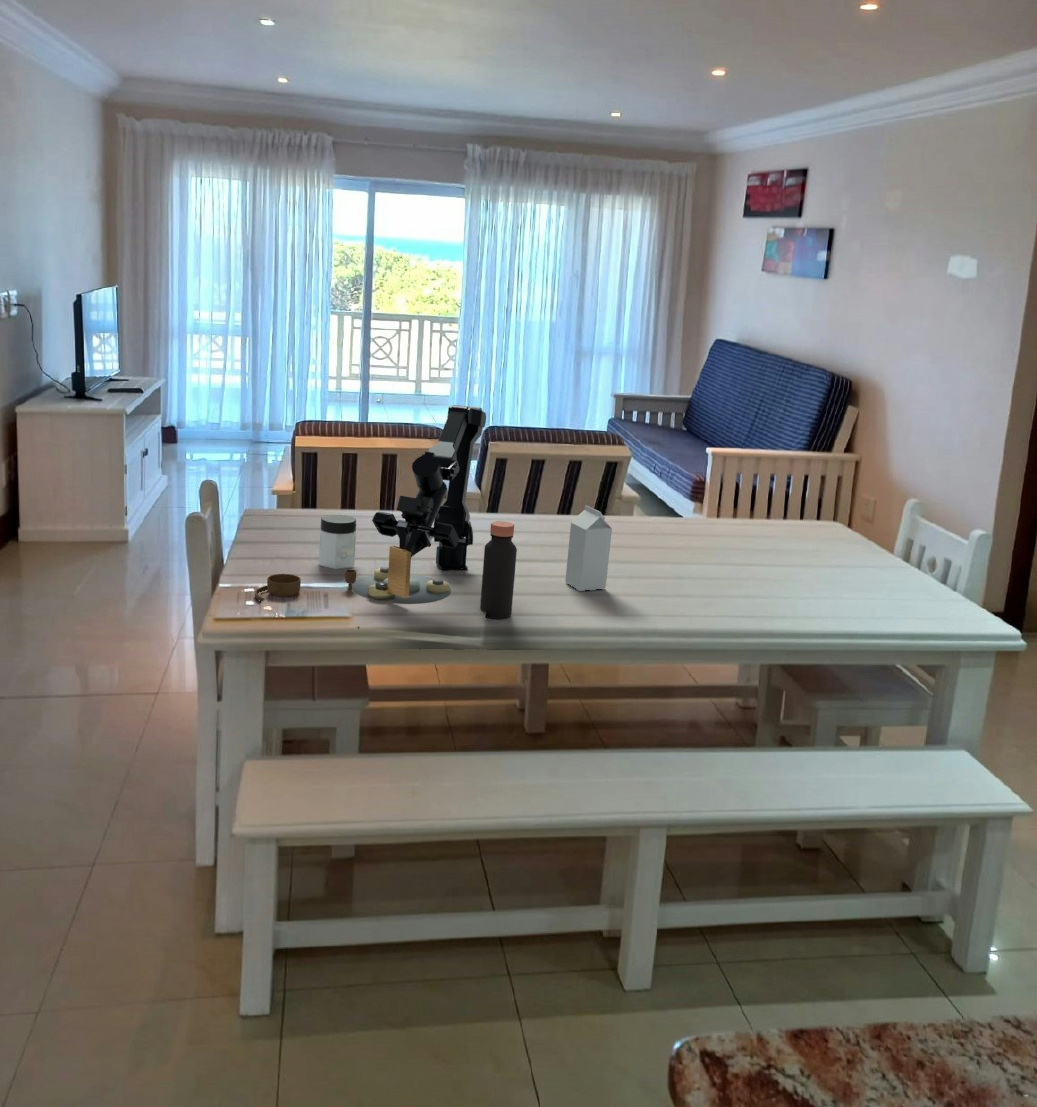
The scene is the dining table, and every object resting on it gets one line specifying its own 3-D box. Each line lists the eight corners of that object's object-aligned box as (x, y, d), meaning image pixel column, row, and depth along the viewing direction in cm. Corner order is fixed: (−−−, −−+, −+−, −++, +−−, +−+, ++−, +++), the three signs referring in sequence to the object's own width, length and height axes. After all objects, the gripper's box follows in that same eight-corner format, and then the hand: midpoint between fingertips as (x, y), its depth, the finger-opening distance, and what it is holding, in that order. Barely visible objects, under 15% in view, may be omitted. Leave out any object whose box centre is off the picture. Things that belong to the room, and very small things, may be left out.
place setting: (269, 585, 241) (270, 559, 239) (358, 594, 239) (359, 569, 238) (242, 609, 224) (243, 582, 222) (337, 619, 223) (338, 592, 221)
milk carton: (579, 592, 253) (587, 512, 248) (564, 583, 259) (572, 505, 254) (605, 590, 256) (614, 511, 251) (590, 581, 262) (598, 504, 257)
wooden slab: (361, 593, 234) (364, 541, 230) (383, 589, 238) (385, 538, 235) (395, 607, 226) (398, 554, 223) (416, 602, 231) (419, 550, 228)
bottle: (489, 621, 228) (497, 528, 222) (473, 611, 233) (480, 520, 228) (517, 617, 231) (524, 526, 226) (500, 608, 237) (508, 519, 231)
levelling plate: (436, 577, 255) (437, 563, 254) (462, 607, 235) (463, 592, 234) (343, 579, 248) (343, 565, 247) (361, 610, 228) (361, 594, 227)
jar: (326, 574, 250) (328, 524, 247) (312, 565, 256) (313, 515, 253) (361, 571, 255) (363, 521, 252) (347, 561, 261) (349, 513, 258)
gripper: (378, 474, 233) (349, 534, 226) (456, 487, 226) (429, 549, 219) (394, 504, 242) (367, 562, 235) (470, 517, 236) (444, 578, 229)
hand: (400, 562), depth 229 cm, fingers closed
